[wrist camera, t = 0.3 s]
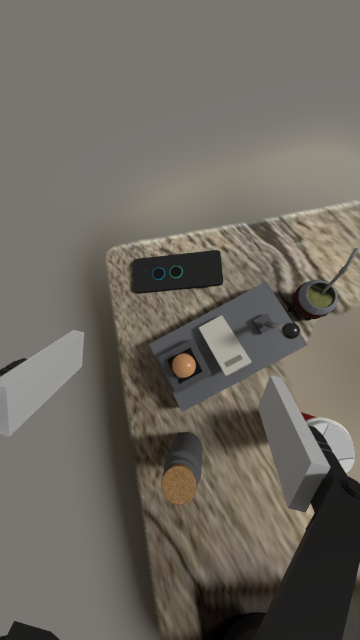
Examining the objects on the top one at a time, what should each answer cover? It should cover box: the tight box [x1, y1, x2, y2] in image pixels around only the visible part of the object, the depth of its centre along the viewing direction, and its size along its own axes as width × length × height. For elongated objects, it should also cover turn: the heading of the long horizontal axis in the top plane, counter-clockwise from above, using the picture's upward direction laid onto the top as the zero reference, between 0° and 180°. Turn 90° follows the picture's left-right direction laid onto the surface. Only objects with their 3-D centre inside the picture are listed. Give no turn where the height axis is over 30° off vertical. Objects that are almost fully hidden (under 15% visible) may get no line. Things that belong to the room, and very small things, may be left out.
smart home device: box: [133, 250, 223, 293], centre depth 53 cm, size 8×2×20 cm
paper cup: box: [301, 412, 355, 473], centre depth 38 cm, size 8×8×14 cm
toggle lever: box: [264, 321, 300, 339], centre depth 37 cm, size 2×2×10 cm
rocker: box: [199, 315, 252, 376], centre depth 42 cm, size 10×5×1 cm, turn 27°
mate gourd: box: [288, 248, 358, 320], centre depth 42 cm, size 8×8×15 cm
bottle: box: [162, 432, 202, 505], centre depth 39 cm, size 6×6×15 cm
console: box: [149, 282, 307, 412], centre depth 45 cm, size 14×26×8 cm, turn 117°
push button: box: [172, 354, 196, 378], centre depth 41 cm, size 4×4×2 cm
